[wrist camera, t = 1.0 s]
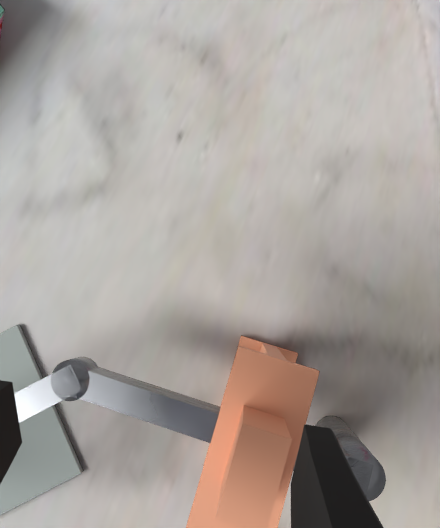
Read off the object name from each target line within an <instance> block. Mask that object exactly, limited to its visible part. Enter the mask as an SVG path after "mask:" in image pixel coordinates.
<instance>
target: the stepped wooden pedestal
mask: <svg viewBox="0 0 440 528" xmlns="http://www.w3.org/2000/svg"><path fill="white" fill-rule="evenodd" d="M297 356H298V353H297V352H293V351H290V350H287V349H283V348H280V347H277V346H274V345H270V344H267V343H264V342H261V341H257V340H254V339H251V338H248V337H244V336H241V338H240V341H239V345H238V348H237V352H236V355H235V359H234V362H233V366H232V369H231V372H230V376H229V379H228V383H227V386H226V390H225V393H224V396H223V400H222V403H221V408H220V412H219V415H218V419H217V422H216V426H215V429H214V433H213V436H212V439H211V443H210V445H209V448H208V452H207V455H206V458H205V462H204V465H203V466H204V467H203V470H202V474H201V477H200V481H199V484H198V488H197V491H196V495H195V498H194V501H193V505H192V508H191V512H190V515H189V519H188V522H187V526H186V528H278V524H279V520H280V517H281V513H282V509H283V505H284V502H285V498H286V494H287V491H288V487H289V483H290V480H291V476H292V472H293V468H294V465H295V461H296V457H297V454H298V450H299V446H300V442H301V437H302V433H303V428H304V425H305V424H306V420H307V417H308V413H309V409H310V405H311V402H312V398H313V394H314V391H315V387H316V383H317V379H318V376H319V371H318V370H316V369H313V368H310V367H307V366H303V365H300V364H297V363H296V360H297Z"/></svg>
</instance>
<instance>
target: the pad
mask: <svg viewBox="0 0 440 528" xmlns="http://www.w3.org/2000/svg"><path fill="white" fill-rule="evenodd" d="M41 379H43V377H42V375H41V373H40V370H39V368H38V366H37V364H36V361H35V359H34V357H33V354H32V352H31V350H30V347H29V345H28V343H27V340H26V338H25V336H24V334H23V331H22V329H21V327H20V325H16V326H14V327H12V328H10V329H8V330H6V331H4V332H2V333H0V380H2V381H9V382H12V383H13V389H14V393H16V392H18V391H20V390H22V389H24V388H26V387H28V386H30V385H32V384H33V383H35V382H37V381H39V380H41ZM19 426H20V432H21V438H22V444H21V446H20V448H19V450H18V452H17V454H16V456H15V458H14V460H13V462H12V464H11V466H10V467H9V469H8V471H7V473H6V475H5V477H4V478H3V480H2V482H1V484H0V515H1V514H3V513H5V512H7V511H9V510H11V509H13V508H15V507H17V506H19V505H21V504H23V503H25V502H27V501H28V500H30V499H32V498H34V497H36V496H38V495H40V494H42V493H44V492H46V491H48V490H50V489H52V488H54V487H56V486H58V485H59V484H61V483H63V482H65V481H67V480H69V479H71V478H73V477H75V476H77V475H79V474H81V473H82V472H83V470H82V467H81V465H80V463H79V460H78V458H77V456H76V453H75V451H74V449H73V446H72V444H71V442H70V440H69V437H68V435H67V433H66V430H65V428H64V426H63V423H62V421H61V419H60V417H59V414H58V412H57V410H56V407H55V405H53V406H51V407H49V408H47V409H46V410H44V411H42V412H40V413H38V414H36V415H34V416H32V417H30V418H28V419H26V420H24V421H22V422H20V423H19Z"/></svg>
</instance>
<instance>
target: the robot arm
mask: <svg viewBox="0 0 440 528" xmlns="http://www.w3.org/2000/svg"><path fill="white" fill-rule="evenodd" d="M21 444H22V438H21V432H20V426H19V419H18V413H17V407H16V401H15V395H14V389H13V383H12V382H9V381H2V380H0V484H1V482H2V480H3V478H4V477H5V475H6V473H7V471H8V469H9V467H10V466H11V464H12V462H13V460H14V458H15V456H16V454H17V452H18V450H19V448H20V446H21ZM291 528H383V526H382V524H381V523H380V521H379V519H378V517H377V515H376V514H375V512H374V510H373V508H372V507H371V505H370V503H369V501H368V500H367V498H366V496H365V494H364V492H363V490H362V488H361V487H360V485H359V483H358V481H357V479H356V477H355V475H354V473H353V471H352V469H351V467H350V465H349V463H348V461H347V459H346V457H345V455H344V453H343V451H342V449H341V447H340V445H339V442H338V440H337V438H336V436H335V434H334V432H333V431H332V430H331V428H325V427H318V426H311V425H304V428H303V433H302V437H301V442H300V446H299V451H298V455H297V459H296V464H295V468H294V473H293V477H292V482H291Z"/></svg>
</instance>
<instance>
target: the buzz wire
mask: <svg viewBox="0 0 440 528" xmlns="http://www.w3.org/2000/svg"><path fill="white" fill-rule="evenodd" d="M14 395H15V401H16V407H17V413H18V419H19V423H20V422H22V421H24V420H26V419H28V418H30V417H32V416H34V415H36V414H38V413H40V412H42V411H44V410H46V409H47V408H49V407H51V406H53V405H55V404H57V403H59V402H61V401H63V400H65V401H74V400H77V399H81V400H84V401H87V402H90V403H93V404H96V405H99V406H102V407H105V408H108V409H111V410H114V411H117V412H120V413H123V414H126V415H129V416H132V417H134V418H137V419H140V420H143V421H146V422H149V423H152V424H155V425H158V426H161V427H164V428H167V429H170V430H173V431H176V432H179V433H182V434H185V435H188V436H191V437H194V438H197V439H200V440H203V441H206V442H209V443H211V439H212V436H213V433H214V429H215V426H216V422H217V419H218V415H219V412H220V408H221V407H219V406H216V405H213V404H210V403H207V402H204V401H201V400H198V399H194V398H191V397H188V396H185V395H182V394H179V393H176V392H173V391H170V390H167V389H164V388H161V387H158V386H155V385H152V384H149V383H145V382H142V381H139V380H136V379H133V378H130V377H127V376H124V375H121V374H118V373H115V372H112V371H109V370H106V369H103V368H100V367H98V366H97V364H96V363H95V362H94V361H93V360H91V359H90V358H87V357H78V358H74V359H70V360H67V361H64V362H62V363H60V364H59V365H57V367H56V368H55V369H54V371H53V373H52V374H51V375H49V376H47V377H45V378H43V379H41V380H39V381H37V382H35V383H33V384H32V385H30V386H28V387H26V388H24V389H22V390H20V391H18V392H16V393H14ZM316 426H318V427H325V428H331V430H332V431H333V432H334V434H335V436H336V438H337V440H338V442H339V445H340V447H341V449H342V451H343V453H344V455H345V457H346V459H347V461H348V463H349V465H350V467H351V469H352V471H353V473H354V475H355V477H356V479H357V481H358V483H359V485H360V487H361V488H362V490H363V492H364V494H365V496H366V498H367V500H368V501H371V500H374V499H375V498H377V497H378V496H379V495H380V494H381V493H382V491H383V489H384V486H385V481H386V478H385V472H384V469H383V467H382V466H381V464H380V463H379V462H378V460H377V459H376V458H375V457H374V456H373V455H372V454H371V452H370V451H369V450H368V449H367V448H366V447H365V445H364V444H363V443H362V442H361V441H360V440H359V439H358V437H357V436H356V435H355V434H354V433H353V432H352V431H351V429H350V428H349V427H348V426H347V425H346V424H345V422H344V421H343V420H341V419H340V418H338V417H335V416H327V417H324V418H322V419H321V420H320V421H319V422H318V423H317V425H316ZM298 451H299V450H298ZM297 455H298V454H297ZM296 459H297V457H296ZM295 464H296V461H295ZM294 468H295V465H294ZM294 468H293V471H294Z"/></svg>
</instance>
